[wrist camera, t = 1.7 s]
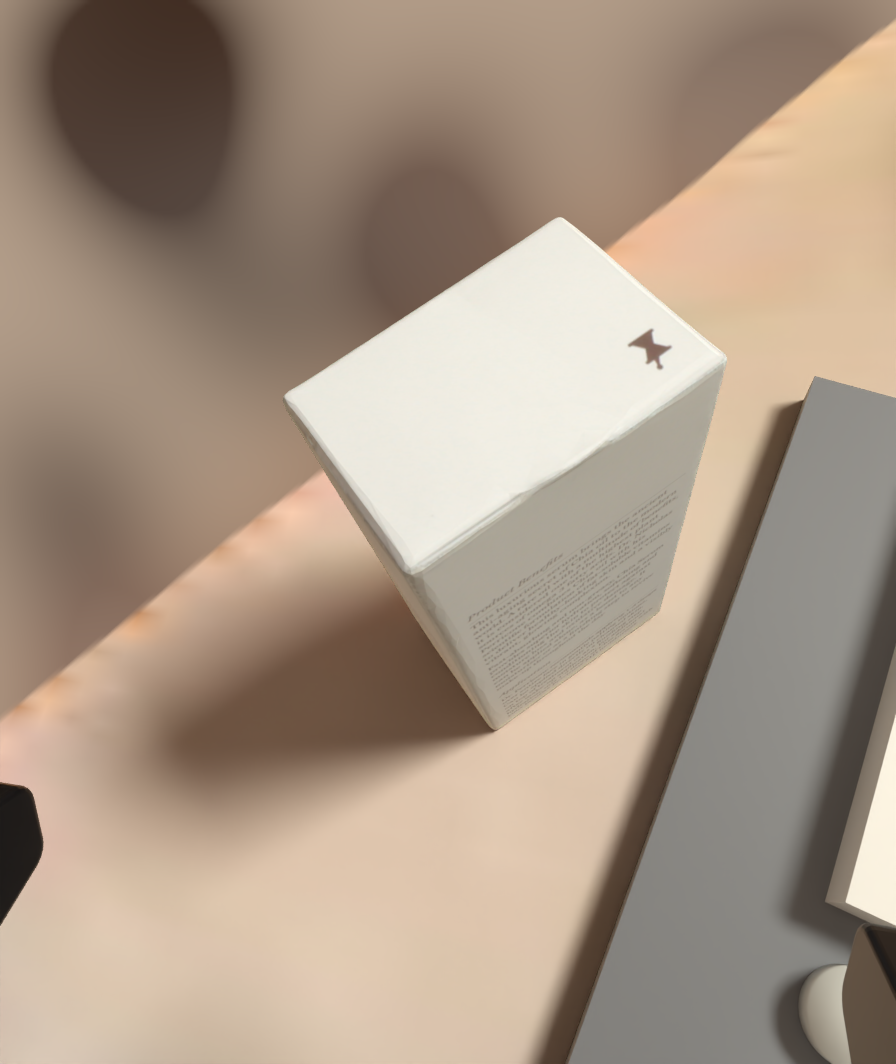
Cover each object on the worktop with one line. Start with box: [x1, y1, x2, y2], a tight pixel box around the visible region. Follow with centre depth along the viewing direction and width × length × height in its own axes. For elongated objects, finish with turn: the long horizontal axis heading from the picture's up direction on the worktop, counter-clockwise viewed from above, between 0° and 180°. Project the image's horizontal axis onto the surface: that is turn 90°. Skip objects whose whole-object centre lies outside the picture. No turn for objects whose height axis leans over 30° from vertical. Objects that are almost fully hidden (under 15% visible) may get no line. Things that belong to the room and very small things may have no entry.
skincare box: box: [283, 217, 727, 730], centre depth 18 cm, size 6×4×12 cm
